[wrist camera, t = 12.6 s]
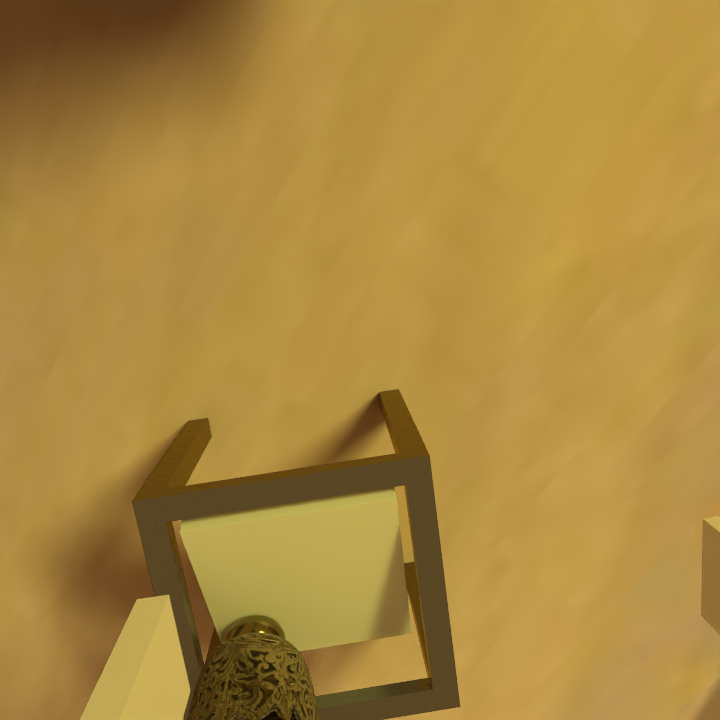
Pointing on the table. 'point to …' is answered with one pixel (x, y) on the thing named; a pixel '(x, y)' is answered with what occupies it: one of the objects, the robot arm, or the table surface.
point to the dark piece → (254, 676)
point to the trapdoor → (306, 568)
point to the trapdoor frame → (407, 467)
